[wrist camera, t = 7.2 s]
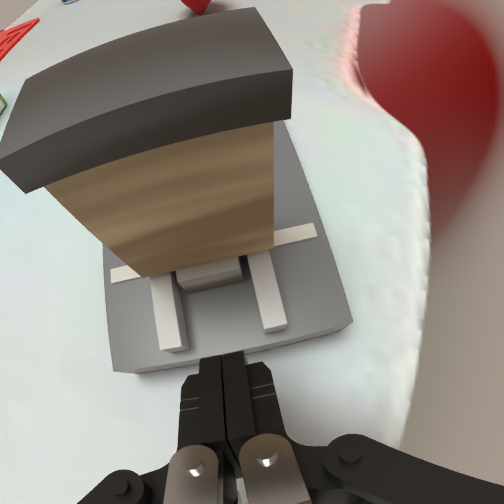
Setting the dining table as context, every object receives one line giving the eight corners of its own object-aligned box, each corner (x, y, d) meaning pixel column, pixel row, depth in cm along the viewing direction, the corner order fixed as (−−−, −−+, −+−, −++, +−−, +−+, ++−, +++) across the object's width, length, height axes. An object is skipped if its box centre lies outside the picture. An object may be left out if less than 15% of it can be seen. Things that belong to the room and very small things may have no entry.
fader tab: (282, 271, 16) (295, 74, 5) (151, 300, 15) (-9, 169, 5) (265, 207, 17) (253, 4, 7) (144, 236, 17) (27, 76, 6)
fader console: (340, 330, 17) (361, 315, 13) (136, 373, 17) (99, 369, 13) (245, 55, 27) (241, 17, 23) (125, 84, 27) (111, 50, 23)
